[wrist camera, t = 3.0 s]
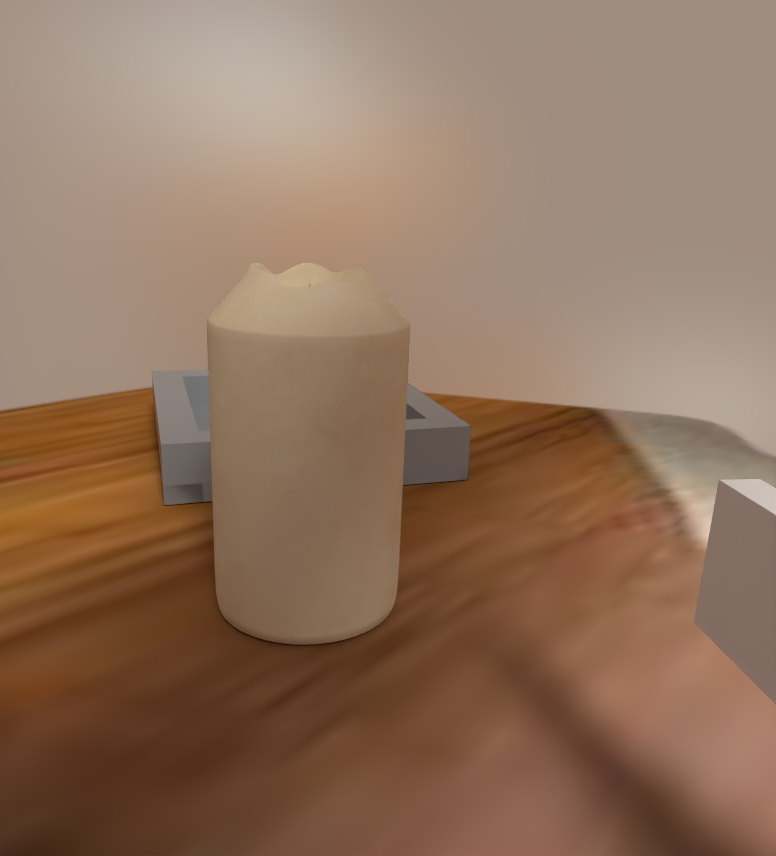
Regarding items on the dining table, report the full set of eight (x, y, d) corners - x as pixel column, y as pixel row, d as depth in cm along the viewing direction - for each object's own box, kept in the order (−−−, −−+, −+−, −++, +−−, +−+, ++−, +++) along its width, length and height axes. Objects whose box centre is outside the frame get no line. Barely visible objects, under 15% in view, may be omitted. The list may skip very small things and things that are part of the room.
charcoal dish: (379, 405, 45) (380, 364, 44) (467, 479, 33) (471, 425, 32) (154, 415, 41) (151, 371, 40) (164, 505, 29) (160, 444, 28)
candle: (204, 650, 20) (189, 271, 17) (226, 557, 25) (218, 255, 22) (407, 645, 20) (427, 277, 18) (388, 555, 26) (400, 260, 23)
